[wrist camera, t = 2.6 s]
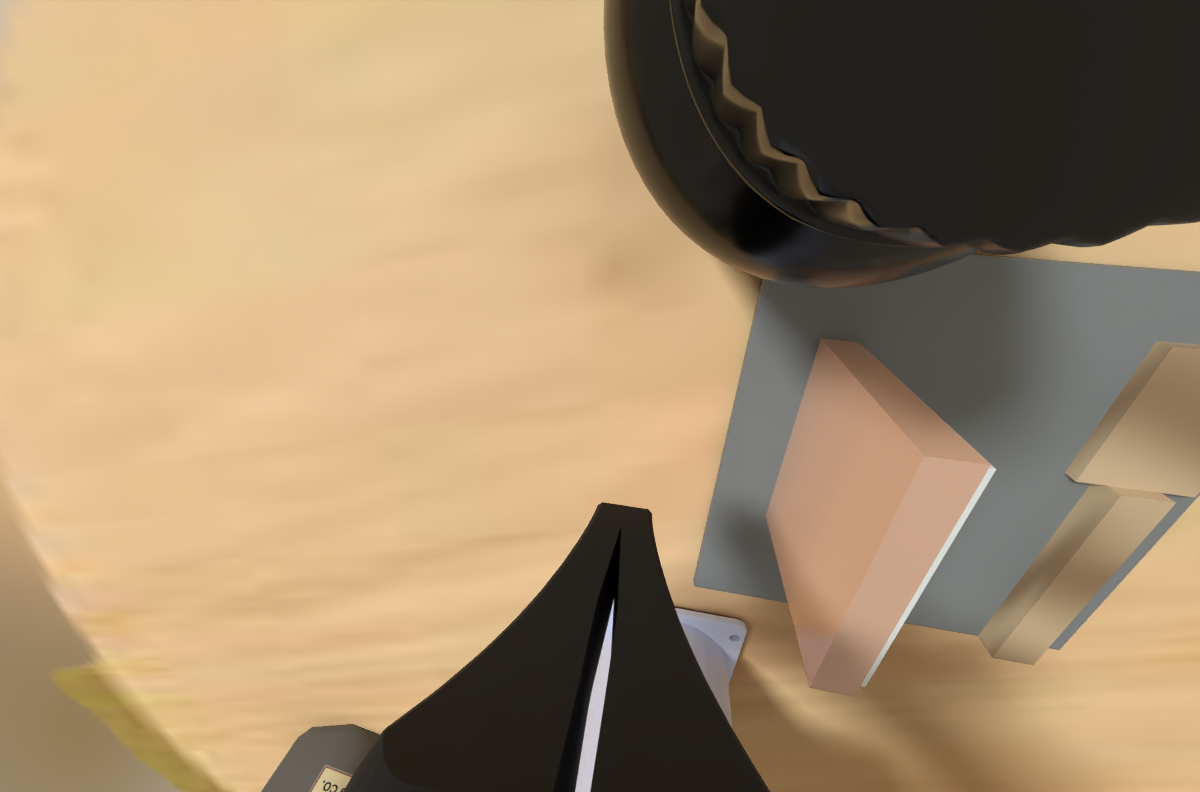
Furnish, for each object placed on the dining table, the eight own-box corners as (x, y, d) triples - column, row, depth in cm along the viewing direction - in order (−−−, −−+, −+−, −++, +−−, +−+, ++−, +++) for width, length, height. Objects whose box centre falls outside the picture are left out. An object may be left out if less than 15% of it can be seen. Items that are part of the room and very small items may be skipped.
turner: (1041, 646, 19) (1059, 669, 18) (954, 631, 19) (967, 653, 19) (1296, 354, 13) (1341, 367, 12) (1156, 340, 13) (1191, 352, 12)
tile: (802, 521, 18) (865, 698, 12) (765, 516, 18) (809, 687, 12) (867, 343, 14) (1008, 467, 8) (820, 338, 15) (924, 455, 8)
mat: (1052, 641, 19) (1059, 649, 19) (693, 579, 21) (693, 586, 21) (1365, 284, 12) (1386, 288, 12) (771, 238, 14) (773, 240, 13)
